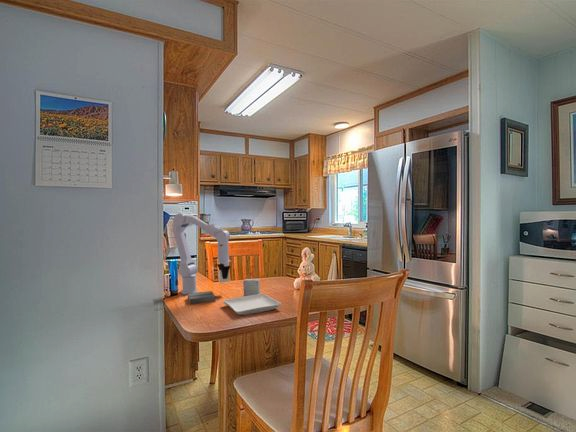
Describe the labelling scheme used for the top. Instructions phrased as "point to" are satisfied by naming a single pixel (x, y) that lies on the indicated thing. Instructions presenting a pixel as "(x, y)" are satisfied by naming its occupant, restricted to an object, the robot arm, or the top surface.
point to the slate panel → (201, 297)
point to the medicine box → (251, 287)
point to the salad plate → (252, 304)
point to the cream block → (222, 277)
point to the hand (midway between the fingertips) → (223, 277)
